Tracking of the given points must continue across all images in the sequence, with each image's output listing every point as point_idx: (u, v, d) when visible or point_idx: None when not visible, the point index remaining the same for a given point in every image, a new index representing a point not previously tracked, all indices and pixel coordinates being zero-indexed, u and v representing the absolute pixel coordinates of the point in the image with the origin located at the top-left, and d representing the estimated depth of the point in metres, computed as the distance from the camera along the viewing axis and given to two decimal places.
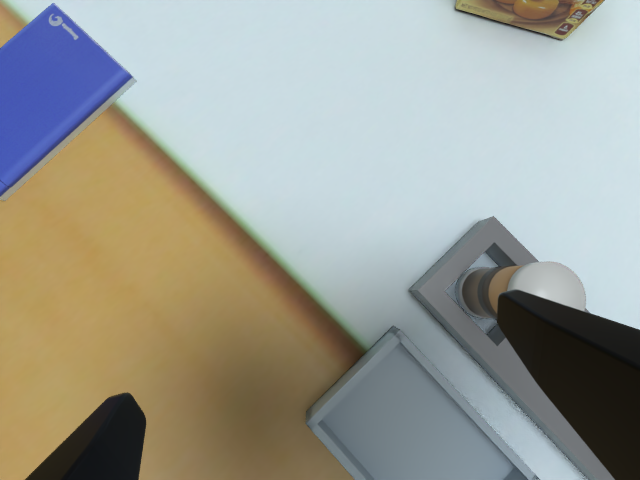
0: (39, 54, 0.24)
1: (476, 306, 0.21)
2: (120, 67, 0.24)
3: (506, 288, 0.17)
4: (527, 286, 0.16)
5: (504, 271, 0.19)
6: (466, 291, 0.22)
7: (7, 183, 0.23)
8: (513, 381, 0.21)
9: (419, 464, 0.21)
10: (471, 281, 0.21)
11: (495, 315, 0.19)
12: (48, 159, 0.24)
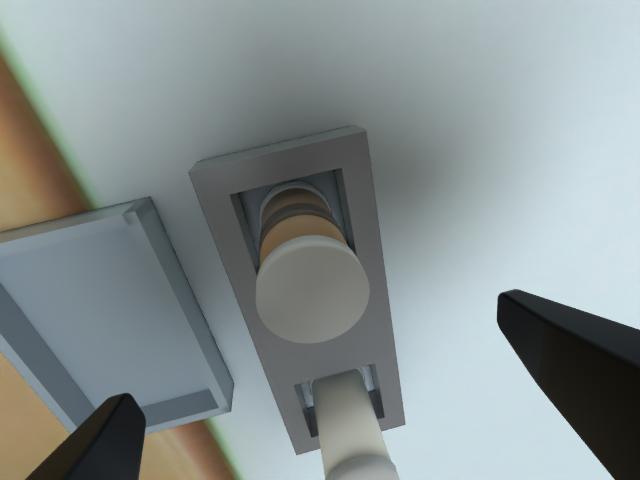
0: None
1: None
2: None
3: (271, 251, 0.10)
4: (288, 270, 0.09)
5: (301, 221, 0.11)
6: (266, 209, 0.14)
7: None
8: (257, 328, 0.16)
9: (113, 350, 0.17)
10: (277, 202, 0.14)
11: None
12: None
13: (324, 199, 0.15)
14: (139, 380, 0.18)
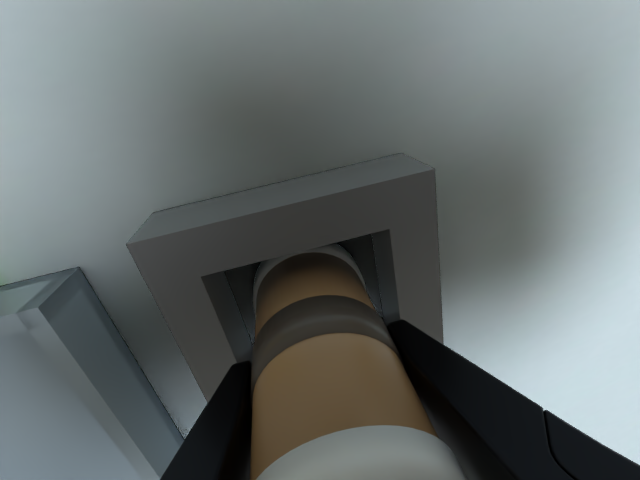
0: None
1: None
2: None
3: (274, 450, 0.05)
4: None
5: (330, 357, 0.06)
6: (264, 289, 0.09)
7: None
8: None
9: (40, 477, 0.12)
10: (281, 282, 0.08)
11: None
12: None
13: (354, 267, 0.10)
14: None
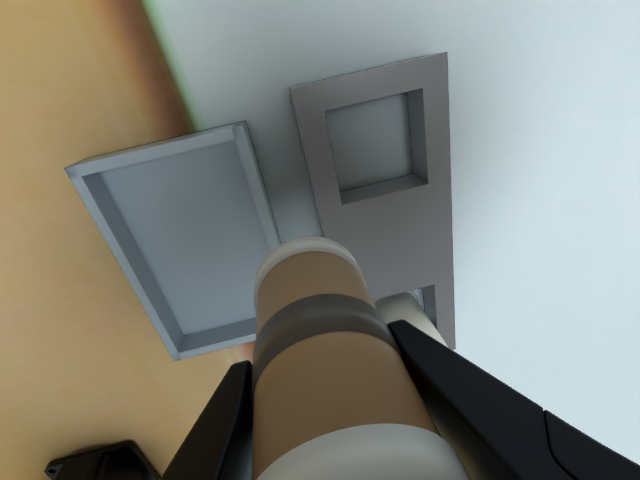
0: None
1: None
2: None
3: (276, 448, 0.05)
4: None
5: (332, 356, 0.06)
6: (265, 288, 0.09)
7: None
8: None
9: (200, 269, 0.19)
10: (282, 281, 0.08)
11: None
12: None
13: (355, 266, 0.10)
14: (220, 300, 0.20)
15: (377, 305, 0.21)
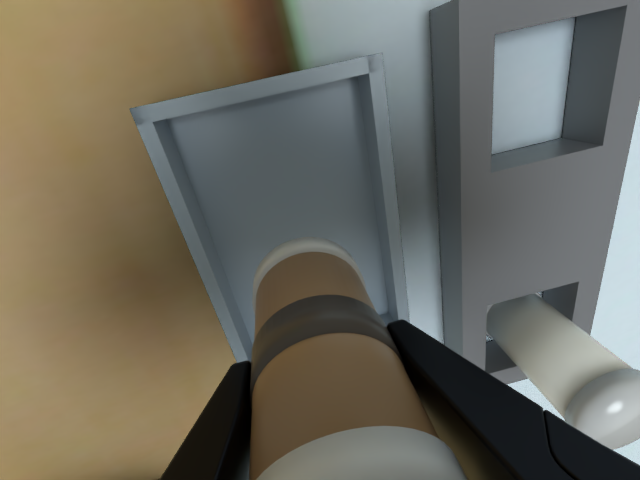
0: None
1: (254, 337, 0.08)
2: None
3: (273, 451, 0.05)
4: None
5: (330, 357, 0.06)
6: (263, 289, 0.09)
7: None
8: (471, 227, 0.14)
9: None
10: (280, 283, 0.08)
11: None
12: None
13: (354, 266, 0.10)
14: None
15: (497, 308, 0.17)
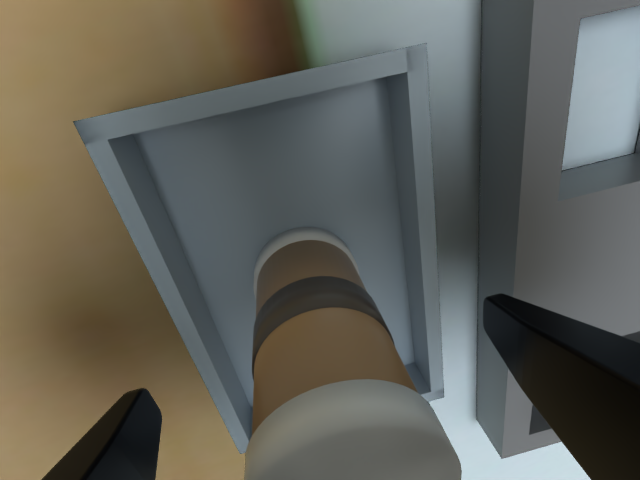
0: None
1: None
2: None
3: (274, 403, 0.05)
4: (309, 469, 0.05)
5: (324, 327, 0.06)
6: (264, 274, 0.10)
7: None
8: (527, 268, 0.11)
9: None
10: (280, 267, 0.09)
11: None
12: None
13: (349, 254, 0.10)
14: None
15: None
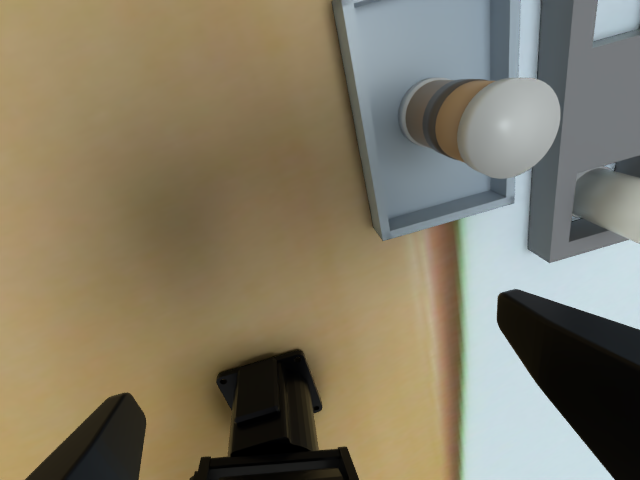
0: None
1: (416, 118, 0.16)
2: None
3: (473, 96, 0.12)
4: (501, 101, 0.11)
5: (482, 81, 0.13)
6: (417, 97, 0.16)
7: None
8: (572, 98, 0.17)
9: None
10: (431, 86, 0.16)
11: (431, 133, 0.15)
12: None
13: None
14: (425, 177, 0.20)
15: (580, 183, 0.21)
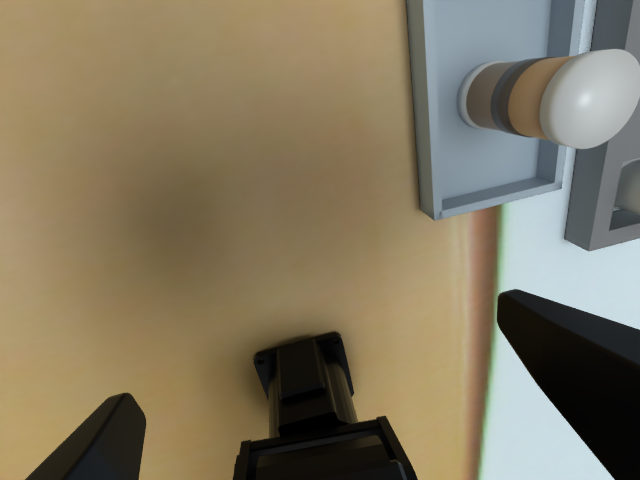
0: None
1: (482, 96, 0.16)
2: None
3: (558, 68, 0.13)
4: (591, 71, 0.12)
5: (560, 57, 0.14)
6: (482, 77, 0.17)
7: None
8: None
9: None
10: (498, 67, 0.16)
11: (503, 109, 0.15)
12: None
13: None
14: (476, 161, 0.20)
15: (622, 173, 0.21)
